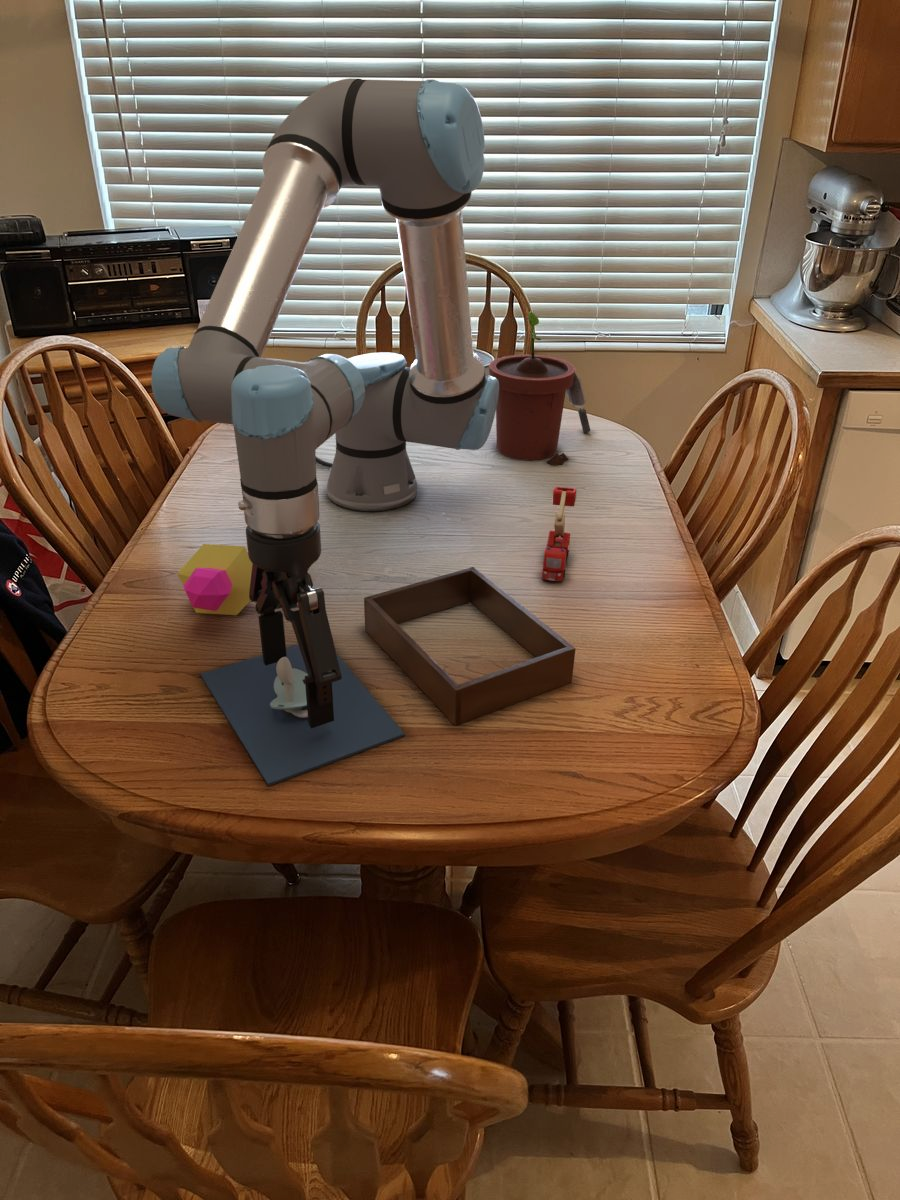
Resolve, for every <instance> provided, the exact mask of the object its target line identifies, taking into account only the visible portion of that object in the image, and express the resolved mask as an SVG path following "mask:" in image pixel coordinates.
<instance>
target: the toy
mask: <svg viewBox="0 0 900 1200" xmlns="http://www.w3.org/2000/svg"><path fill="white" fill-rule="evenodd" d="M252 564H253V563H252V562H251V561H250V559H249V556H248V549H247V548H246V546H245V545H228V544H211V543H210V544H209V543H203V544H202V545H201V546H200V547H199V548H198V549H197V550H196V552H194V554H193V555H192V556H191V557H190V558H189V559H188V561H186V563H185V564H183V566H182V567H181V568H180V570H178V572H177V576H178V578H179V581H180V582H181V584H182V586H183V589H184V592H185V594H186V596H187V598H188V600H189V602H190V604H191V606H192V608H193V610H194V612H195V613H196V614H209V615H223V616H224V615H226V616H238V614H240V613H241V611H242V610H243V609H244V608H245V607H246V606H247V605H248V604H249V603H250V602H251V600H250V599H249V590H250V582H251V573H252Z"/></svg>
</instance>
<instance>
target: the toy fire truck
mask: <svg viewBox="0 0 900 1200" xmlns="http://www.w3.org/2000/svg"><path fill="white" fill-rule="evenodd" d="M552 492H553V493H552V505H554V506H559V507H558V513H555V519H554V524H553V526H554V527H553V529H554V530H549V533H548V538H547V542H546V547H545V548H544V552H543V553H544V554H543V556H544V557H543V563H542V570H541V571H542V572H541V578H542V579H543V580H546V581H550V582H551V581H552V582H563V580H564V579H565V577H566V565H567V564H568V560H569V553H570V550H569V547H570V540H571V533H570V532H565V530H566V529H565V526H566V525H565V524H566V514H564V511H565V507H571V508H574V507H575V505H576V500H577V488H574V487H564V486H561V487H560V486H554V489H553V490H552Z"/></svg>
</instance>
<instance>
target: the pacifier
mask: <svg viewBox="0 0 900 1200" xmlns="http://www.w3.org/2000/svg"><path fill="white" fill-rule="evenodd" d="M276 671H277V675H278V676H277V677H276V679H275V681H274V691H275V693H276V695H277V698H275V699H274V700H272V702H271V703H270V706H271V708H273V709H279V710H285V711H286V712H290V713H292V714H293V715H295V716H297V717H301V718H306V717H308V712H307V710H300V709H301V708H302V707H305V706H307V699H306V687H305V684H304V683H303V679H305V676H307V675H308V674H307V673H305V672H303V671H302V670H299V669H295V668H292V666H291V664H290V661H289V660H288V658H287V657H283V658H281V659H280V660H279V661H278V663H277V666H276ZM282 682H283V683H284V686H283V685H282Z"/></svg>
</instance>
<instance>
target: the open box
mask: <svg viewBox="0 0 900 1200" xmlns="http://www.w3.org/2000/svg"><path fill="white" fill-rule="evenodd" d="M467 603H471V604H472V605H473V606H475V608H477V610H479V611H480V612H481V613H483V615H485V616H486V617H488V618H489V619H490V620H491V621H492V622H493V623H494V624H496V625H497V626H498V627H499V628H501V629H502V631H504V632H505V633H506V634H508V635H509V636H510V637H511V638H512V639H513V640H514V641H515V642H517V643H518V644H519V645H520V646H522V648H523V649H525V650H526V651H527V652H529V654H531V655H532V656H533V657H534V658H531V659H528V660H525V661H523V662H519V663H517V664H514V665H512V666H509V667H505V668H502V669H501V670H500V669H499V670H498V671H495V672H494V671H493V672H491V673H489V674H485V675H483V676H480V677H477V678H474V679H472V680H468V681H466V682H463V683H460V684H458V683H457V682H456V681H455V680H454V679H453V678H452V677H451V675H449V674H448V673H447V672H446V671H445V670H444V669H443V668H442V667H441V666H440V665H439V664H438V663H437V662H436V661H435V660H434V659H433V658H432V657H431V656H430V655H429V654H428V653H427V652H426V651H425V650H424V648H422V647H421V646H420V645H419V644H418V643H417V642H416V641H415V640H414V639H413V638H412V637H411V636H410V635H409V634H408V633H407V632H406V631H405V630H404V629H403V628H402V627H401V626H400V625H399V624H401V623H405V622H408V621H411V620H414V619H417V618H421V617H424V616H428V615H431V614H435V613H437V612H441V611H444V610H449V609H452V608H453V607H457V606H460V605H464V604H467ZM363 609H364V631H365V632H366V633H367V634H368V635H369V636H370V637H371V638H372V639H373V641H375V643H377V644H378V646H380V648H381V649H382V650H383V651H384V652H385V653H386V654H387V655H388V657H390V658H391V659H392V660H393V662H394V663H395V664H396V665H397V666H398V667H399V668H400V669H401V670H402V671H403V672H404V674H406V675H407V677H408V678H410V680H411V681H412V682H413V683H414V684H415V685H416V686H417V687H418V688H419V689H420V690H421V691H422V692H423V694H424V695H425V696H426V697H428V699H429V700H430V701H431V702H432V703H433V704H434V706H436V707H437V708H438V709H439V710H440V712H441V713H442V714H443V715H444V716H445V717H446V718H447V719H448V720H449V721H450V722H451V723H452V724H453V725H454V726H459V725H461V724H463V723H467V722H470V721H472V720H475V719H477V718H480V717H483V716H485V715H488V714H490V713H493V712H496V711H498V710H501V709H503V708H506V707H509V706H512V705H515V704H517V703H520V702H523V701H526V700H528V699H530V698H533V697H536V696H539V695H541V694H544V693H547V692H550V691H552V690H554V689H557V688H560V687H563V686H566V685H568V684H571V683H573V675H574V666H575V656H576V647H575V646H573V645H572V644H571V643H569V642H568V641H567V640H566V639H565V638H564V637H562V636H561V635H559V634H558V633H557V632H556V631H554V630H553V629H552V628H551V627H550V626H548V624H546V623H544V622H543V621H542V620H540V619H539V618H538V617H537V616H536V615H534V613H533V612H531V611H529V610H528V609H527V608H525V606H523V605H522V604H521V603H519V601H517V600H516V599H515V598H513V597H512V596H511V595H509V594H508V593H507V592H506V591H504V590H503V589H502V588H501V587H499V586H498V585H497V584H495V583H494V582H493V581H492V580H490V578H488V577H487V576H486V575H484V574H483V573H482V572H481V571H479V570H478V569H477V568H476V567H474V566H470V567H467V568H464V569H461V570H457V571H454V572H453V571H452V572H450V573H446V574H443V575H439V576H435V577H432V578H429V579H425V580H422V581H418V582H415V583H411V584H407V585H403V586H400V587H397V588H394V589H390V590H386V591H383V592H380V593H376V594H372V595H369V596H365V597H363Z"/></svg>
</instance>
